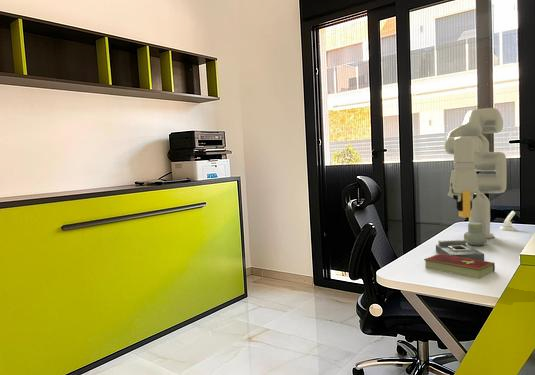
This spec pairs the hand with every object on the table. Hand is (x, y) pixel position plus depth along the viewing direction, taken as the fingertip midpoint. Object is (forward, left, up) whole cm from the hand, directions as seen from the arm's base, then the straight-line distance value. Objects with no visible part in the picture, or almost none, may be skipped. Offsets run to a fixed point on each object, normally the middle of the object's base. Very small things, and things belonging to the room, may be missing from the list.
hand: (464, 210), depth 170 cm
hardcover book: (+19, -10, -20) cm, 30 cm away
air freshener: (-20, +13, -20) cm, 31 cm away
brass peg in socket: (0, 0, -3) cm, 3 cm away
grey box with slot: (0, -2, -20) cm, 20 cm away
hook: (-52, +43, -20) cm, 70 cm away
